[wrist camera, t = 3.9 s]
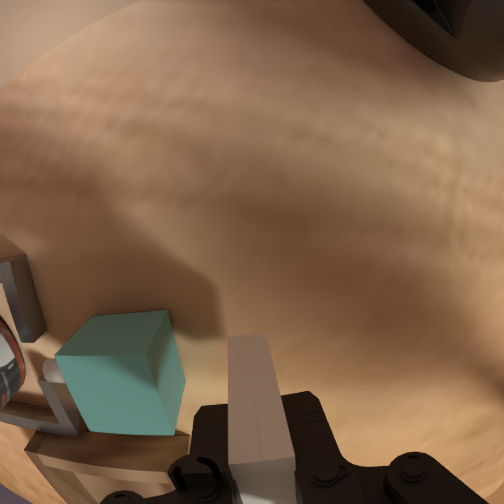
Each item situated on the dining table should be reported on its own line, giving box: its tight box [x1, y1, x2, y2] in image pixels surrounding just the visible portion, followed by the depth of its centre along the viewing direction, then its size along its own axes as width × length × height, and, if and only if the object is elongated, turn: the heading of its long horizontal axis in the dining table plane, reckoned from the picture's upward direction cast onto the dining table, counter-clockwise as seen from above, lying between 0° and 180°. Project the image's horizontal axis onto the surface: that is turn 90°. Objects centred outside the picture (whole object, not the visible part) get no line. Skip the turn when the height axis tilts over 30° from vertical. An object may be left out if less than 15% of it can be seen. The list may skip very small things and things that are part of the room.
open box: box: [24, 431, 191, 504], centre depth 15 cm, size 11×11×3 cm
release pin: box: [43, 310, 186, 435], centre depth 12 cm, size 6×4×4 cm, turn 97°
